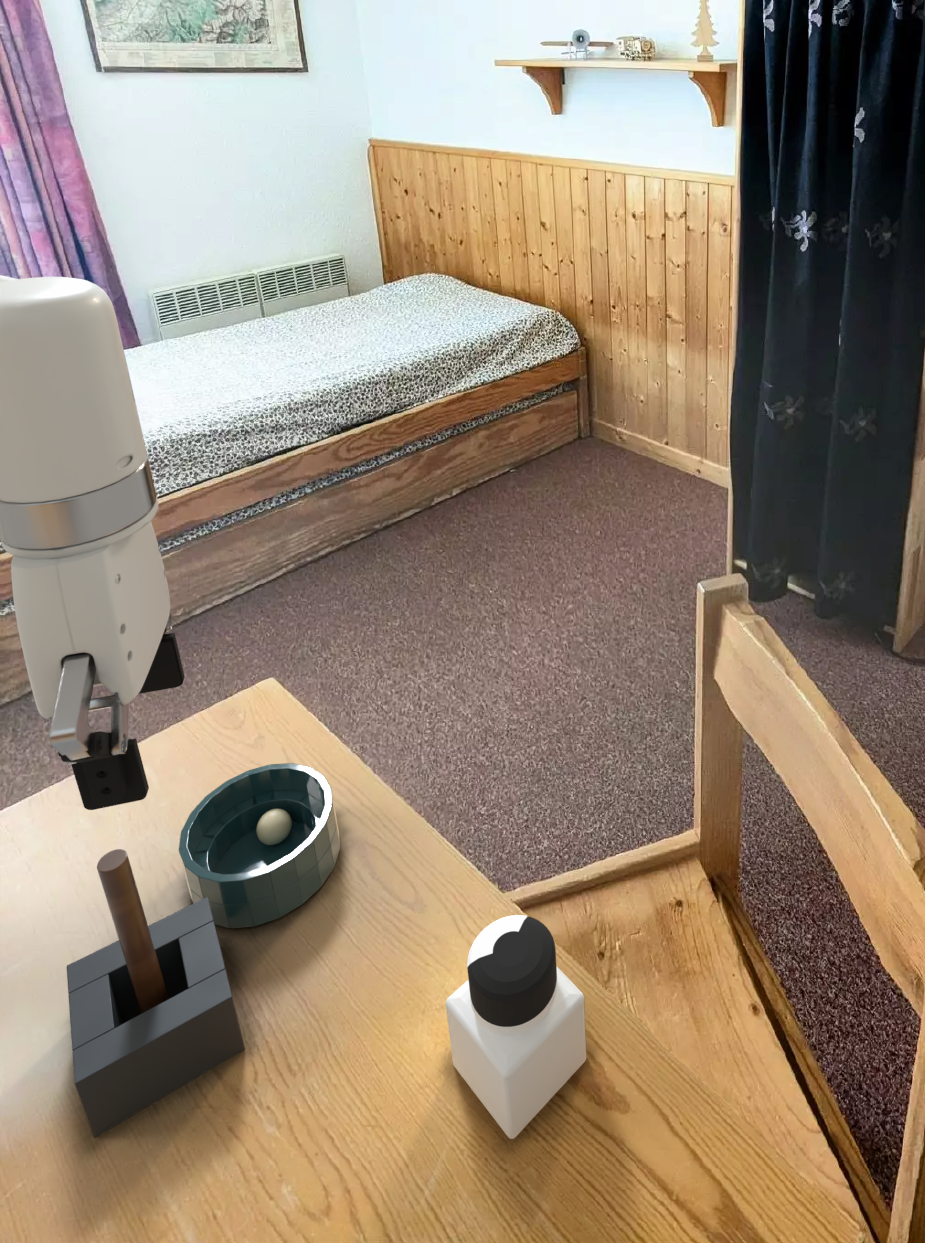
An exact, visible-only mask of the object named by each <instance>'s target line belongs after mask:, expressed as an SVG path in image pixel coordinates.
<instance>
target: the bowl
mask: <svg viewBox="0 0 925 1243" xmlns="http://www.w3.org/2000/svg"><path fill="white" fill-rule="evenodd" d="M334 801H335V800H334V795H333V790H332V787H331V785H330V783H329V782H328V780H327V779H326V777H325V776H324V774H322V773H320V772H319V771H318V770H316V769H314V768H313V767H311V766H308V765H303V764H298V763H294V762H285V763H271V764H266V765H263V766H258V767H256V768H251V769H249V770H246V771H244V772H241V773H240V774H238V775H236V776H234V777H231V778H229V779H227V780H226V781H223V783H221V784H220V785H219V786H218V787H216V788H214V789H213V790H212V791H211V792H209V793H208V794H206V795H205V796H204V797H203V799H202V800H201V801H200V802H199V803H198V804H197V805H196V806H195V807H194V808H193V810H192V811H191V812H190V813H189V815H188V817H187V819H186V821H185V823H184V825H183V827H182V829H181V831H180V834H179V835H180V836H179V844H178V854H179V857H180V860H181V861H180V862H181V865H182V869H183V873H184V877H185V881H186V885H187V888H188V893H189V896H190V900H191V901H192V902H191V903H192V904H194V903H196V902H198V901H200V900H202V899H204V898H206V897H208V898H209V902H210V906H211V910H212V914H213V918H214V922H215V926H219V927H223V928H228V929H239V928H253V927H257V926H261V925H263V924H266V923H270V922H272V921H275V920H277V919H278V920H279V919H280V918H282V917H284V916H285V915H287V914H289V913H290V912H292V911H294V910H296V909H298V907H300V906H302V905H304V904H305V903H306V902H307V901H308V900H309V899H310V898H311V897H312V896H313V895H314V894H316V892H318V891H319V890H320V889H321V887H322V886H323V885H324V884H325V882H326V880H327V879H328V877H329V876H330V874H331V873H332V872H333V870H334V869H335V866H336V863H337V859H338V856H339V853H340V851H341V840H340V831H339V826H338V825H339V824H338V818H337V813H336V808H335V802H334ZM272 809H283V810H285V811H286V812H287V813H288V814H289V815H290V817H291V820H292V826H291V830H290V833H289V834H288V836H287V837H286V838H285V839H284V840H283V841H282V842H280V843H278V844H276V845H266V844H264V843H262V842H261V841H260V840H259V838H258V836H257V831H256V830H257V824H258V822H259V820H260V818H261V817H262V816H263V815H264V814H265V813H266V812H268V811H270V810H272Z"/></svg>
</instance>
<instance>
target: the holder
mask: <svg viewBox="0 0 925 1243" xmlns="http://www.w3.org/2000/svg"><path fill="white" fill-rule="evenodd" d="M216 926H217V925H215V922H214V918H213V914H212V910H211V906H210V902H209V898H208V897H206V898H204V899H202V900H200V901H198V902H196V903H194V904H193V903H192V904H190V905H187V906H186V907H184V908H182V909H179V910H177V911H176V912H174V913H171V914H169V915H168V916H165V917H163V918H161V919H159V920H157V921H155V922H153V923H151V924H149V925H148V927H149V931H150V934H151V938H152V941H153V945H154V948H155V952H156V955H157V959H158V962H159V966H160V969H161V973H162V976H163V980H164V983H165V987H166V990H167V994H168V997H169V999H168V1000H166V1001H165V1002H163V1003H161V1004H159V1005H157V1006H155V1007H153V1008H151V1009H150V1010H148V1011H146V1012H144V1013H142V1014H141V1010H140V1007H139V1004H138V1001H137V997H136V994H135V991H134V987H133V984H132V981H131V978H130V974H129V971H128V968H127V965H126V961H125V958H124V955H123V952H122V948H121V945H120V942H119V939H118V940H116V941H114V942H112V943H110V944H108V945H106V946H104V947H102V948H100V949H98V950H96V951H93V952H92V953H89V954H88V955H86V956H84V957H81V958H80V959H77V960H75V961H73V962H71V963H69V964H67V965H66V978H67V994H68V1011H69V1022H70V1038H71V1051H72V1065H73V1066H72V1067H73V1079H74V1080H73V1081H74V1086H75V1089H76V1092H77V1094H78V1097H79V1100H80V1103H81V1106H82V1108H83V1111H84V1113H85V1116H86V1119H87V1122H88V1125H89V1128H90V1130H91V1133H92V1136H93V1138H94V1139H96V1138H98V1137H99V1136H101V1135H102V1134H104V1133H106V1132H108V1131H110V1130H111V1129H113V1128H114V1127H116V1126H118V1125H120V1124H122V1123H123V1122H125V1121H126V1120H129V1119H130V1118H132V1117H133V1116H135V1115H136V1114H138V1113H140V1112H142V1111H143V1110H145V1109H146V1108H148V1107H150V1106H152V1105H154V1104H155V1103H157V1102H159V1101H161V1100H162V1099H164V1098H166V1097H167V1096H169V1095H170V1094H172V1093H174V1092H176V1091H177V1090H179V1089H180V1088H182V1087H184V1086H186V1085H187V1084H189V1083H191V1082H192V1081H194V1080H196V1079H197V1078H199V1077H202V1075H205V1074H206V1073H208V1072H210V1071H211V1070H213V1069H214V1068H216V1067H218V1066H219V1065H221V1064H223V1063H224V1062H226V1061H228V1060H230V1059H231V1058H233V1057H235V1056H237V1055H238V1054H240V1053H241V1052H244V1051H245V1050H246V1046H245V1041H244V1038H243V1034H242V1030H241V1026H240V1022H239V1017H238V1014H237V1009H236V1005H235V1000H234V997H233V992H232V989H231V984H230V980H229V976H228V975H229V974H228V971H227V967H226V964H225V959H224V956H223V951H222V947H221V943H220V938H219V935H218V931H217V927H216Z"/></svg>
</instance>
